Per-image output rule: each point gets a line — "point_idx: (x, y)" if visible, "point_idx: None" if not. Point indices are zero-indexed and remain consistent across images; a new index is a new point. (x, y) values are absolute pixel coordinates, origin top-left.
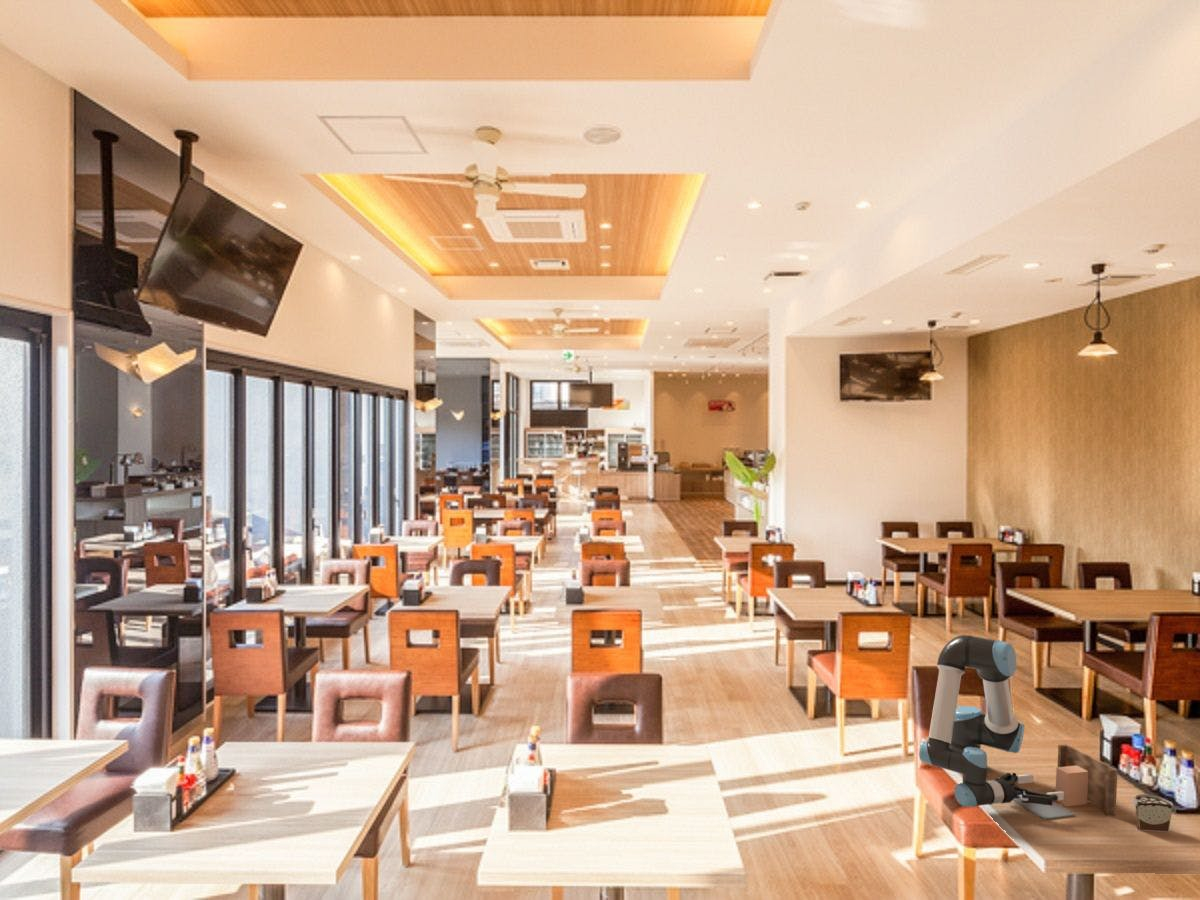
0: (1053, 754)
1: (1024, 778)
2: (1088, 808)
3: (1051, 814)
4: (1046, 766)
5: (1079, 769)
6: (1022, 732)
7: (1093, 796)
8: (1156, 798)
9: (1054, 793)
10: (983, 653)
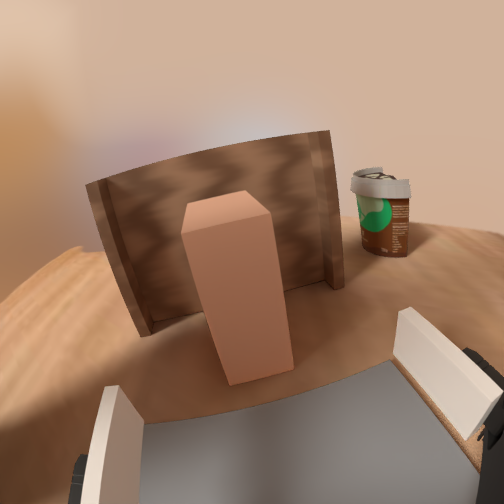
0: (52, 286)
1: (117, 468)
2: (302, 313)
3: (433, 453)
4: (62, 310)
5: (224, 198)
6: None
7: None
8: (357, 176)
9: (463, 355)
10: None
